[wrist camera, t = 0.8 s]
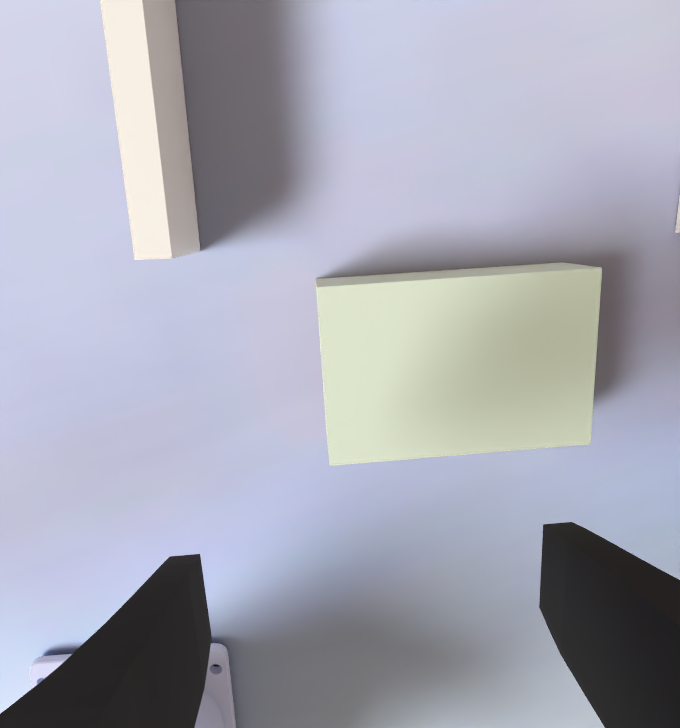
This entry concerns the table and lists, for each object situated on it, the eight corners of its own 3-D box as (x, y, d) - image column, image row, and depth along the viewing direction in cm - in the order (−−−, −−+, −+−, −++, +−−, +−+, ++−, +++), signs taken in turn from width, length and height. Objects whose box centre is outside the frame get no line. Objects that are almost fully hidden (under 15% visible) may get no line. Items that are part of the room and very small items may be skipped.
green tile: (551, 414, 21) (590, 444, 18) (326, 432, 21) (329, 465, 18) (558, 261, 20) (602, 267, 17) (315, 277, 19) (317, 287, 16)
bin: (701, 231, 19) (801, 233, 15) (171, 252, 18) (134, 259, 14) (762, -215, 16) (909, -358, 12) (116, -219, 15) (50, -373, 11)
